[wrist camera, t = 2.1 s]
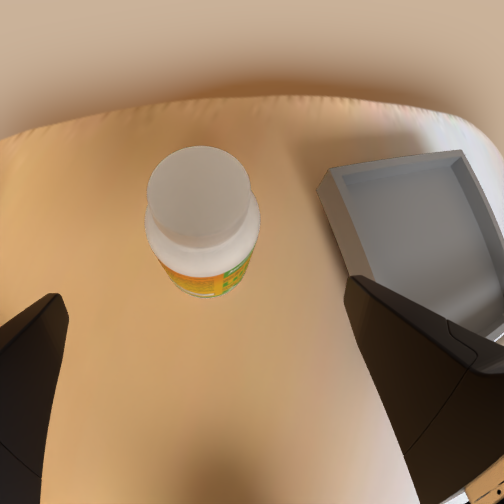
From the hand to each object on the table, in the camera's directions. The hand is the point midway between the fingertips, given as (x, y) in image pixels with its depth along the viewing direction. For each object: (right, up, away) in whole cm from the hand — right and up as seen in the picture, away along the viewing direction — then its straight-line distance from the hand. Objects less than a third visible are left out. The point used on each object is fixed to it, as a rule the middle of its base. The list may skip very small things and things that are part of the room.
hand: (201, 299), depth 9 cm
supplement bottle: (-2, +1, +12) cm, 12 cm away
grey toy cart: (+14, 0, +13) cm, 19 cm away
